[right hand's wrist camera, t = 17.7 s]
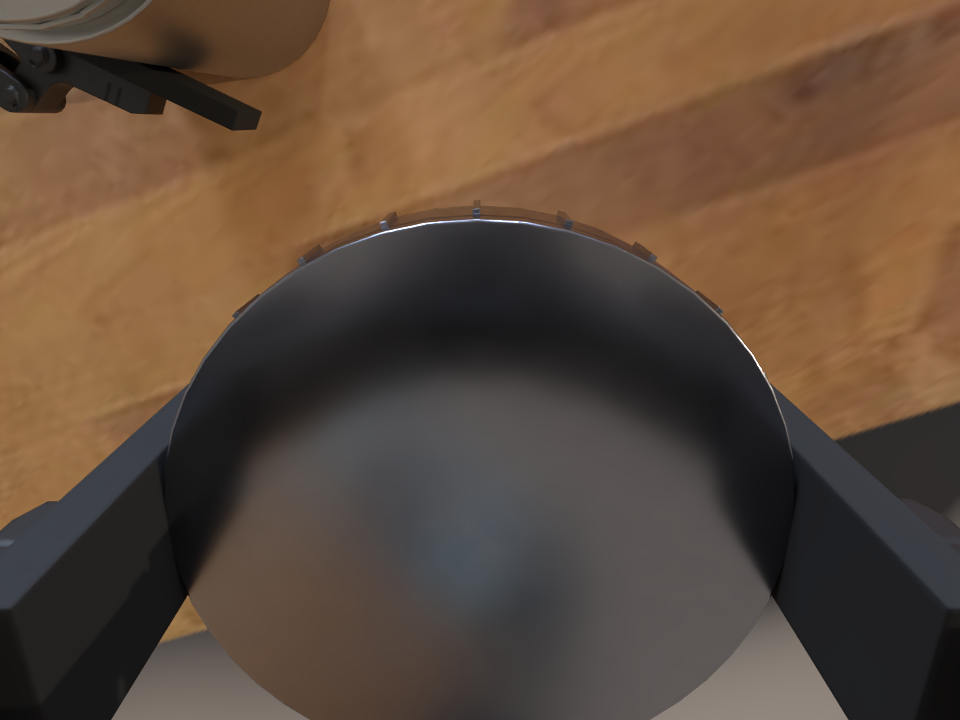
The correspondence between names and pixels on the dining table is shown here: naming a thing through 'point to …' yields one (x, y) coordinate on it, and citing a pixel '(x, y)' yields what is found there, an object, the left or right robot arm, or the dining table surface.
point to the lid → (479, 477)
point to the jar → (172, 31)
